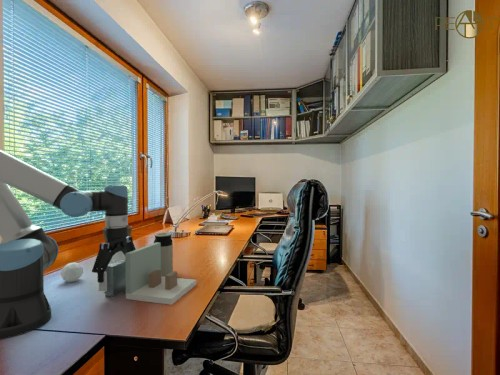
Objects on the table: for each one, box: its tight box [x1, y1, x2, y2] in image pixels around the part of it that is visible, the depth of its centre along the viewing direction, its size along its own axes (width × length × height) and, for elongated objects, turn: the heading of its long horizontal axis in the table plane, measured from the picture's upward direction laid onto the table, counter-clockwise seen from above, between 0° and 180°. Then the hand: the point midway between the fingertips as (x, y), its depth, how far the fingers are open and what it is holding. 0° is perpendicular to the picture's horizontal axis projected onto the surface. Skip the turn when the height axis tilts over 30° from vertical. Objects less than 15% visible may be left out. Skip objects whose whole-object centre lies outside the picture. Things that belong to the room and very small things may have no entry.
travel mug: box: [153, 232, 174, 277], centre depth 118 cm, size 8×8×18 cm
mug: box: [108, 251, 125, 265], centre depth 129 cm, size 12×8×10 cm
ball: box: [60, 261, 84, 283], centre depth 110 cm, size 8×8×8 cm
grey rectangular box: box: [104, 260, 126, 298], centre depth 98 cm, size 8×4×11 cm, turn 165°
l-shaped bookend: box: [125, 242, 197, 306], centre depth 99 cm, size 18×18×16 cm
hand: (117, 283), depth 98 cm, fingers open, 13 cm apart
